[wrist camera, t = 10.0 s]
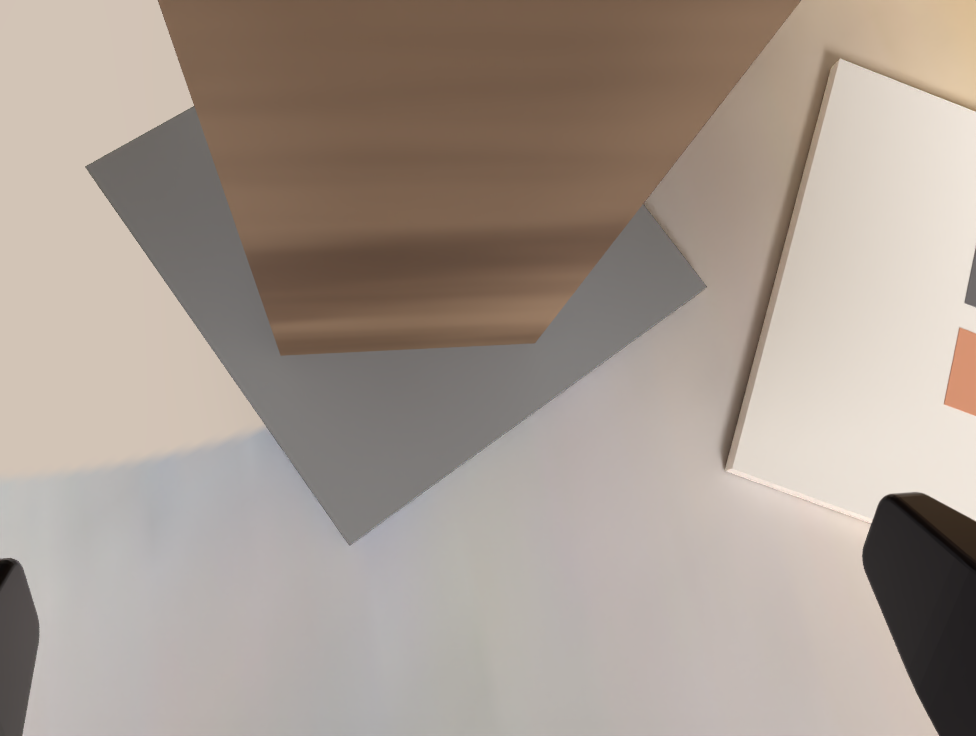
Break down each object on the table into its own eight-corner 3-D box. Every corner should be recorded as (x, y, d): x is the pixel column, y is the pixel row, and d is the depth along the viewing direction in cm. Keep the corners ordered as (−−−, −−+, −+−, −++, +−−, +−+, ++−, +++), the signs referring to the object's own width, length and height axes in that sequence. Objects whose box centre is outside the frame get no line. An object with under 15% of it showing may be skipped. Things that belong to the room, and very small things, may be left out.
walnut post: (534, 343, 18) (925, -160, 6) (280, 355, 18) (90, -194, 5) (512, 115, 19) (802, -733, 7) (271, 117, 19) (95, -834, 6)
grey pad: (349, 545, 17) (349, 544, 17) (91, 177, 18) (85, 166, 18) (698, 294, 20) (706, 286, 19) (453, -25, 20) (455, -40, 20)
